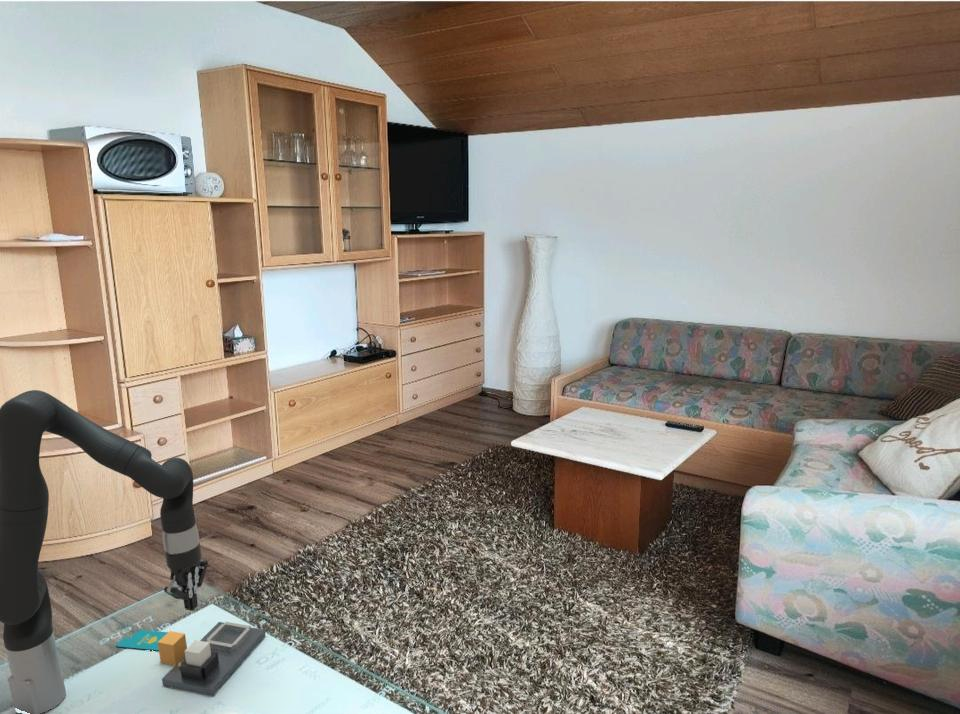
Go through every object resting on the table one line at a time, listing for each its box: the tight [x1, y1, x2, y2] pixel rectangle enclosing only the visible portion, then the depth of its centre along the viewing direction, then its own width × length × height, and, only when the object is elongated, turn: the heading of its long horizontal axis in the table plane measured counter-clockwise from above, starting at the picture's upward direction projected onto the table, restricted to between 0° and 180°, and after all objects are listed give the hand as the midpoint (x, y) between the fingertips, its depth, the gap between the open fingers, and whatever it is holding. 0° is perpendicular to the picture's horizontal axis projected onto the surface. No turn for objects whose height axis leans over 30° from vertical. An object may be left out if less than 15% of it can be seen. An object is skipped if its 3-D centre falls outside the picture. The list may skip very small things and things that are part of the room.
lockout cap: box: [158, 630, 188, 666], centre depth 168 cm, size 4×4×6 cm
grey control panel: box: [161, 621, 266, 697], centre depth 167 cm, size 22×14×5 cm, turn 165°
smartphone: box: [115, 629, 169, 652], centre depth 175 cm, size 7×1×15 cm
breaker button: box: [185, 639, 211, 667], centre depth 161 cm, size 4×4×4 cm
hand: (191, 608), depth 158 cm, fingers closed
